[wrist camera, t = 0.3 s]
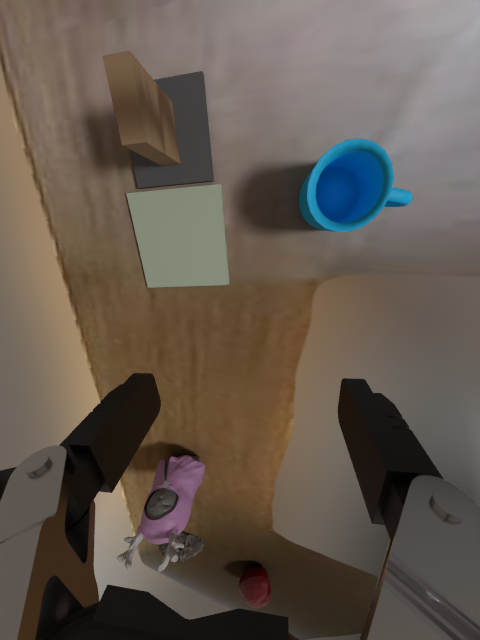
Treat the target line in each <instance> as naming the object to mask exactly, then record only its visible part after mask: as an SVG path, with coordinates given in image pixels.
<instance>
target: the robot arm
mask: <svg viewBox="0 0 480 640" xmlns="http://www.w3.org/2000/svg"><path fill="white" fill-rule="evenodd" d="M160 407H161V400H160V396H159V393H158V389H157V385H156V382H155V378H154V376H153V374H151V373H134V374H132V375H131V376H130V377H129V378H128V379H127V381H126V382H125V383H124V384H121V385H120V386H118V387H117V388H115V389H114V390H112V391H111V392H109V393H108V395H107V396H106V397H105V398H104V399H103V400H102V401H101V403H100V404H98V405H97V406H96V407H95V408H94V409H93V412H90V413H89V415H88V416H87V417H86V418H85V419H84V420H83V421H82V422H81V423H80V424H79V425H78V426H77V427H76V428H75V429H74V430H73V431H72V433H71V434H70V435H69V436H68V437H67V438H66V439H65V440H64V441H63V442H62V443H61V444H60V445H59V446H51V447H47V448H44V449H42V450H40V451H38V452H36V453H34V454H33V455H31V456H29V457H28V458H27V459H25V460H24V461H23V462H22V463H21V464H20V465H19V466H18V467H15V468H10V469H6V470H2V471H0V640H299V639H298V638H296V637H295V636H293V635H292V634H290V633H289V631H288V617H283V616H278V615H272V614H267V613H261V612H256V611H250V610H245V609H235V610H231V611H227V612H223V613H218V614H214V615H209V616H206V617H201V618H197V619H191V620H189V619H185V618H183V617H182V616H181V615H179V614H178V613H176V612H175V611H174V610H172V609H171V608H169V607H168V606H166V605H165V604H164V603H163V602H161V601H160V600H158V599H157V598H155V597H154V596H153V595H151V594H150V593H149V592H145V591H139V590H134V589H129V588H123V587H117V586H112V585H107V588H106V589H105V591H104V594H103V596H102V598H101V600H100V602H99V595H98V588H97V583H96V579H95V575H94V566H93V563H94V529H95V527H94V526H95V503H94V498H95V496H96V494H97V493H98V492H99V491H101V492H110V493H112V492H113V490H114V488H115V487H116V485H117V483H118V481H119V480H120V478H121V477H122V475H123V473H124V472H125V470H126V468H127V466H128V465H129V463H130V461H131V460H132V458H133V456H134V455H135V453H136V451H137V449H138V448H139V446H140V444H141V443H142V441H143V439H144V438H145V436H146V434H147V433H148V431H149V429H150V427H151V426H152V424H153V422H154V421H155V419H156V417H157V416H158V414H159V411H160ZM338 418H339V423H340V427H341V430H342V433H343V436H344V439H345V442H346V445H347V448H348V451H349V454H350V458H351V461H352V463H353V467H354V470H355V472H356V476H357V479H358V482H359V485H360V488H361V491H362V494H363V497H364V500H365V503H366V507H367V510H368V513H369V516H370V519H371V522H372V524H381V525H382V524H383V525H385V526H386V529H387V531H388V534H389V537H390V539H391V540H390V542H389V546H388V549H387V552H386V556H385V559H384V562H383V565H382V569H381V572H380V575H379V579H378V582H377V585H376V589H375V592H374V595H373V599H372V602H371V605H370V609H369V612H368V615H367V618H366V622H365V625H364V628H363V631H362V634H361V637H360V640H480V507H479V506H478V505H477V503H476V502H475V501H474V500H473V499H472V498H471V497H470V496H469V495H467V494H466V493H465V492H464V491H463V490H461V489H460V488H458V487H457V486H455V485H453V484H452V483H450V482H448V481H446V480H444V479H443V477H442V476H441V475H440V473H439V472H438V470H437V469H436V467H435V465H434V464H433V462H432V461H431V460H430V458H429V456H428V455H427V454H426V452H425V450H424V449H423V447H422V446H421V444H420V443H419V442H418V440H417V438H416V437H415V435H414V434H413V432H412V431H411V430H410V429H409V426H408V425H407V423H406V421H405V420H404V419H402V415H401V414H400V412H399V411H398V409H397V408H396V406H395V405H394V404H393V403H392V402H391V401H390V400H388V399H387V398H386V397H385V396H384V395H382V394H381V393H373V392H372V391H371V389H370V387H369V385H368V384H367V382H366V381H365V380H364V379H342V382H341V389H340V396H339V404H338Z"/></svg>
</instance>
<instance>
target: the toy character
mask: <svg viewBox="0 0 480 640" xmlns="http://www.w3.org/2000/svg"><path fill="white" fill-rule="evenodd" d="M204 468H205V465H204V464H203V463H202V462H200V458H199V457H198V456H192V457H191V456H188V455H183V456H180V457H177V458H176V457H175V456H171V457H170V458H169V459H167V460H166V461H165V460H163V459H162V460H160V462H159V463H158V466H157V469H156V475H155V477H154V481H153V488H152V490H151V492H150V493H149V495H148V497H147V500H146V503H145V506H144V510H143V513H142V518H141V524H140V526H139V527H138V529H137V535H136V536H134V537H127V538H125V539H124V540H125V541H126V542H128V543H130V546H129V550H128V551H126V552H124V553H123V554H121V555H119V556H118V557H117V560H118V561H119V562H124V560H125V559H126V561H125V566H126V568H127V570H129V569H130V568H131V560H132V557H133V554H134V553H135V551H136V548H137V545H138V544H139V543H140V542H141V540H142V539H143V538H146V539H147V540H148V541H149V542H150V543H153V544H158V545H161V544H163V543H169V545H168V547H167V549H166V552H165V555H164V558H163V560H162V561H161V562H160V563H159V565H158V572H160V571H162V570H164V569H165V568H166V566H167V565H168V562H169V560H171V561H172V562H176V561H177V560H178V555H177V554H176V553H175V551H174V549H175V548H184V544H183V543H182V542H180V541H178V540H176V538H177V536H178V535H179V534H180V533H181V532H182V531H183V530H184V528H185V526H186V524H187V522H188V520H189V517H190V513H191V508H192V502H193V498H194V495H195V493H196V490H197V488H198V487H199V486H200V484H201V482H202V480H203V475H204V472H205V470H204Z"/></svg>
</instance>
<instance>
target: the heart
mask: <svg viewBox="0 0 480 640" xmlns="http://www.w3.org/2000/svg"><path fill="white" fill-rule="evenodd" d="M269 583H270V581H269V578H268V575H267V572H266V570H265V568H263V567H261V566H259V565H251V566H250V567H249V568H248V569H247V570H245V572H244V573H243V574H242V576H241V578H240V582H239V586H238V588H239V591H240V594H241V596H242V597H243V599H244V601H245V602H246V603H247V604H248V605H249V606H251V607H252V608H253V609H256V608H260V607H263V606H265V605H267V604H268V603H269V600H270V593H271V588H270V585H269Z"/></svg>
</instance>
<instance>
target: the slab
mask: <svg viewBox="0 0 480 640" xmlns="http://www.w3.org/2000/svg"><path fill="white" fill-rule="evenodd" d="M103 60H104V65H105V70H106V74H107V79H108V83H109V88H110V93H111V97H112V102H113V106H114V111H115V115H116V120H117V125H118V129H119V134H120V138H121V143H122V146H124V147H126V148H128V149H130V150H132V151H134V152H136V153H138V154H140V155H142V156H144V157H145V158H147V159H149V160H151V161H153V162H155V163H157V164H159V165H161V166H169V165H177V164H180V157H179V150H178V143H177V136H176V129H175V122H174V114H173V107H172V101H171V100H170V99H169V98H168V97H167V95H166V94H165V93H164V92H163V91H162V89H161V88H160V87H159V86H158V85H157V83H156V82H155V81H154V80H153V78H152V77H151V76H150V75H149V74H148V72H147V71H146V70H145V69H144V68H143V66H142V65H141V64H140V63H139V62H138V60H137V59H136V58H135V57H134V56H133V54H132V53H131V52H130V51H125V52H120V53H115V54H110V55H105V56H103Z"/></svg>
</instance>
